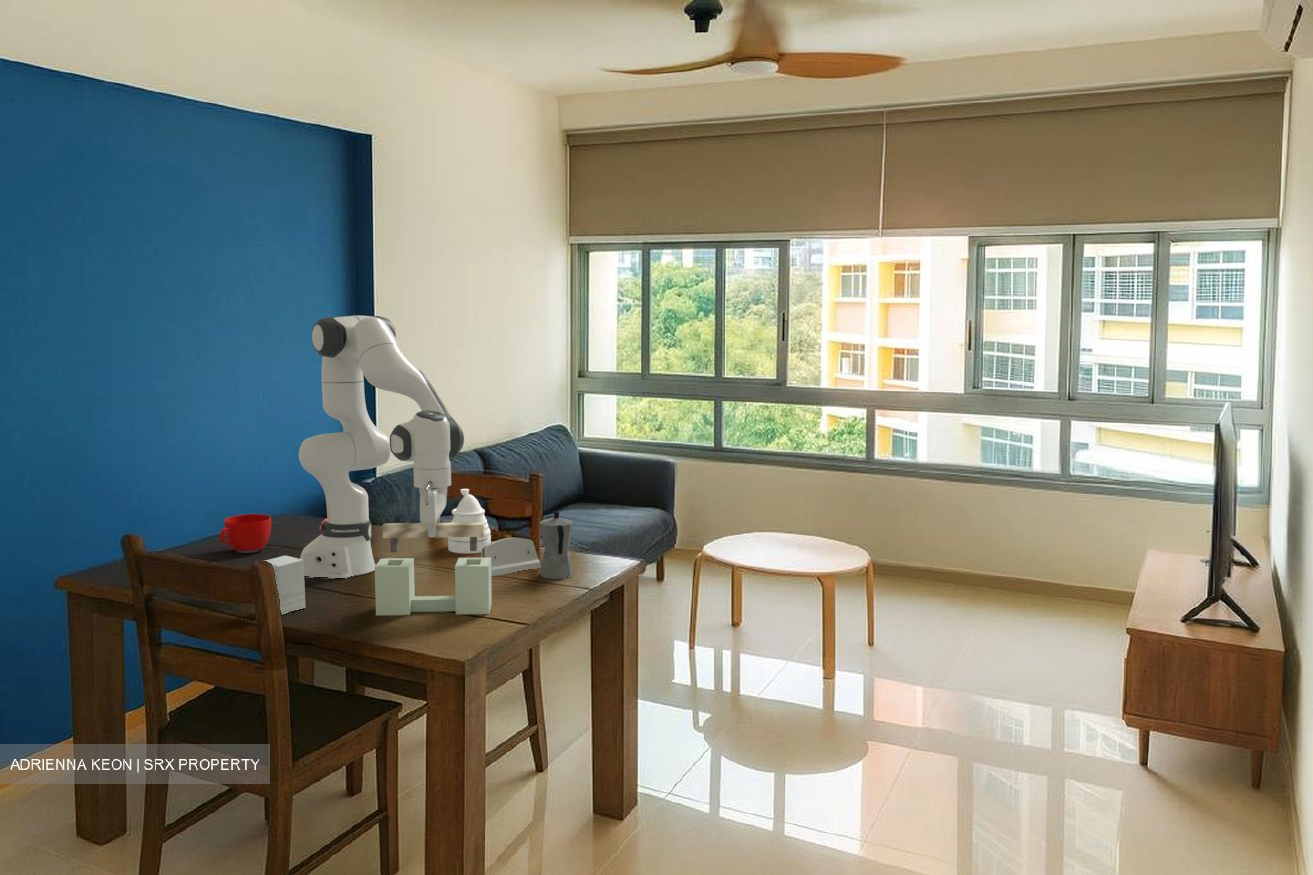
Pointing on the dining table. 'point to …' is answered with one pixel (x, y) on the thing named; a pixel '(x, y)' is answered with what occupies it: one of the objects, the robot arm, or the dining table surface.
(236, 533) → the ceramic cup
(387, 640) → the dining table surface
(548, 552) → the coffeepot
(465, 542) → the honey pot
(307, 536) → the dining table surface
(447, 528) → the rail
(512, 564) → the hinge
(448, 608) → the posts
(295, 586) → the supplement box
